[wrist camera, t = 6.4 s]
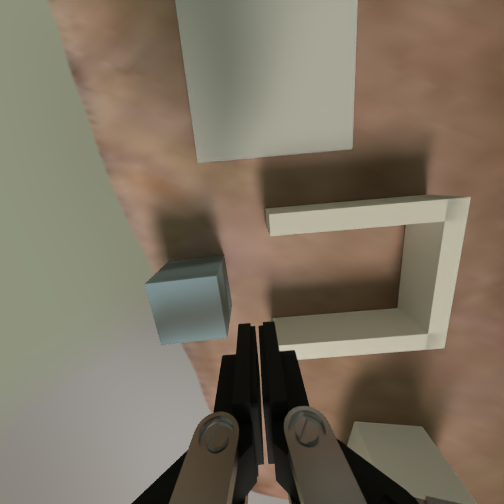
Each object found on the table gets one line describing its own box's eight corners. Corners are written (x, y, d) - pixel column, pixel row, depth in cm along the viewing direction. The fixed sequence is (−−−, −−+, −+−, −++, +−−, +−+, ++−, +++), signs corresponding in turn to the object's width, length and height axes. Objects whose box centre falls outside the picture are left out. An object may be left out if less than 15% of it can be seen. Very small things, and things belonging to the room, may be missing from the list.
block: (168, 261, 21) (144, 284, 16) (224, 254, 21) (216, 275, 16) (180, 310, 22) (161, 345, 17) (232, 304, 22) (227, 337, 17)
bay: (264, 208, 20) (268, 214, 16) (426, 194, 19) (470, 196, 15) (273, 331, 23) (278, 361, 19) (411, 320, 23) (444, 348, 19)
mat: (171, -34, 15) (169, -40, 15) (356, -53, 15) (359, -59, 15) (198, 163, 18) (197, 162, 18) (350, 149, 18) (352, 148, 18)
